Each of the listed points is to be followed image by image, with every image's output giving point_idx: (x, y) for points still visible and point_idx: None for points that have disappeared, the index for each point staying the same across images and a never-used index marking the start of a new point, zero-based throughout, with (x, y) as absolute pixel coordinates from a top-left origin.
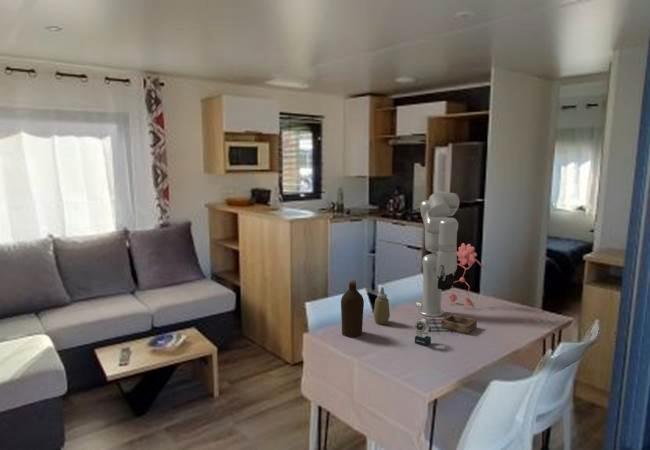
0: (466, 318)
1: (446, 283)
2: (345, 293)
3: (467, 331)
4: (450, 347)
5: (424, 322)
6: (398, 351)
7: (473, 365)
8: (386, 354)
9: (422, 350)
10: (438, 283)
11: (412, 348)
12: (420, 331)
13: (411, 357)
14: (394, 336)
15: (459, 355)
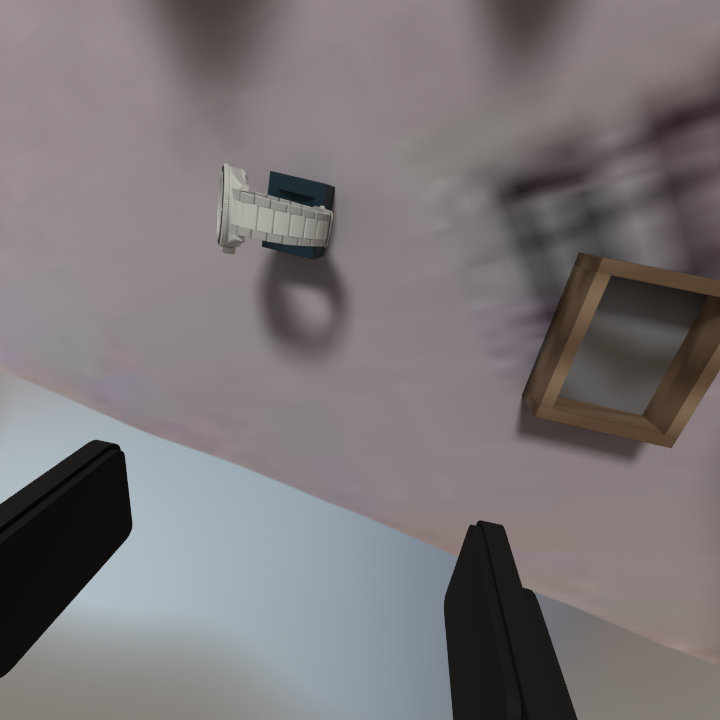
0: (691, 394)
1: (471, 528)
2: None
3: (528, 401)
4: (327, 348)
5: (229, 233)
6: (145, 130)
7: (215, 443)
8: (77, 84)
9: None
10: (14, 510)
11: None
12: (217, 216)
13: (129, 216)
14: (318, 7)
15: (268, 392)
